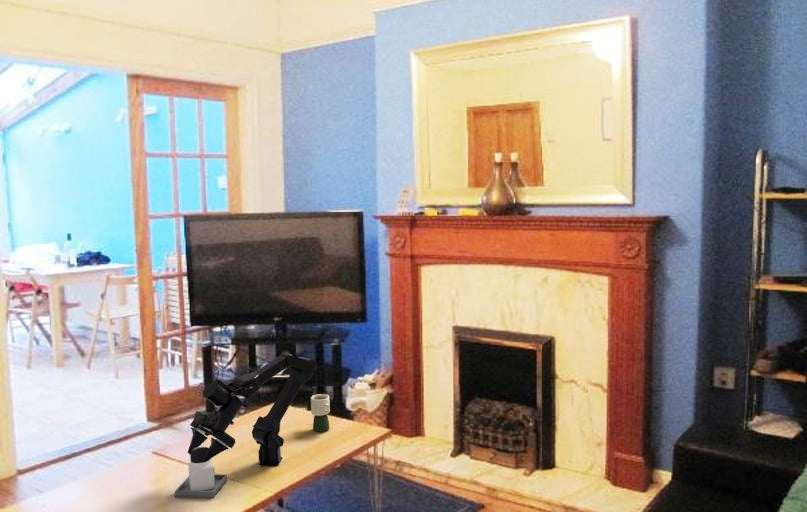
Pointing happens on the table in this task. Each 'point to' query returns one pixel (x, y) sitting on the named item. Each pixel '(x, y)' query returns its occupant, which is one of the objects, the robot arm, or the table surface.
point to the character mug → (320, 411)
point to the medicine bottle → (201, 471)
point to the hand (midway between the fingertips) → (195, 457)
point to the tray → (186, 492)
